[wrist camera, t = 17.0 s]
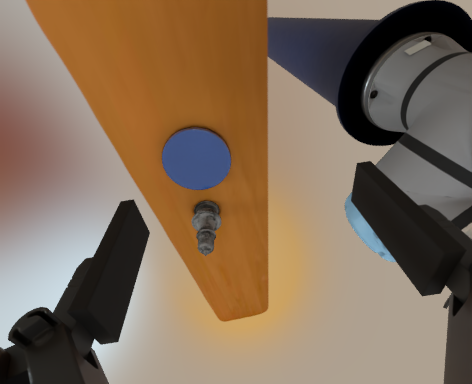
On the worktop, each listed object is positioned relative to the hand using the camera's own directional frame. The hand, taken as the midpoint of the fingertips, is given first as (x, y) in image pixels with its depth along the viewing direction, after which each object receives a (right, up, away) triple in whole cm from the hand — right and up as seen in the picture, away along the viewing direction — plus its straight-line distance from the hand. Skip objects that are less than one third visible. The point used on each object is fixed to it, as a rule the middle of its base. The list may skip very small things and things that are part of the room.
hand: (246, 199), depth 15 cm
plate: (-8, +7, +30) cm, 32 cm away
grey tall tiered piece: (-7, -3, +37) cm, 38 cm away
